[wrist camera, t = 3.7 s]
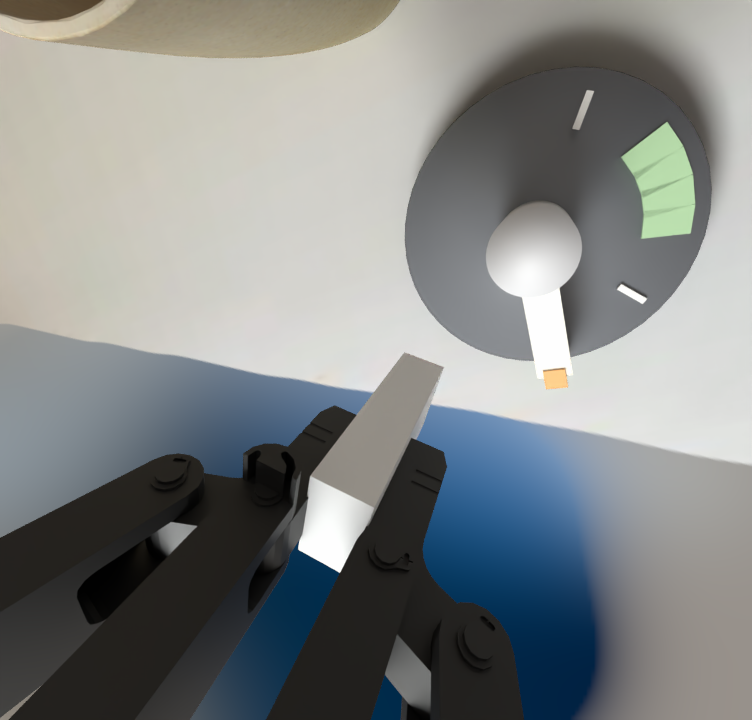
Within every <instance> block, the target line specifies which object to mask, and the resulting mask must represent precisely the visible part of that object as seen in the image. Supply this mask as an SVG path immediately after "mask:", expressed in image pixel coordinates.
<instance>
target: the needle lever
mask: <svg viewBox="0 0 752 720" xmlns="http://www.w3.org/2000/svg"><path fill="white" fill-rule="evenodd" d="M581 254H582V241H581V236H580V233H579V231H578V229H577V227H576V225H575V224H574V222H573V221H572V219H571V218H570V216H569V215H568V213H567V212H566V211H565V210H564V209H563V208H562V207H560V206H559V205H557V204H555V203H552V202H549V201H531V202H527V203H525V204H522V205H520V206H519V207H517V208H516V209H514V210H513V211H512V212H510V213H509V214H508V216H507V217H506V218H505V219H504V220H503V221H502V222H501V223H500V225H499V226H498V227H497V228H496V229H495V231H494V232H493V234H492V236H491V238H490V240H489V242H488V246H487V250H486V264H487V268H488V272H489V274H490V276H491V278H492V279H493V281H494V282H495V283H496V284H497V285H498V286H499V287H500V288H501V289H502V290H504V291H505V292H507V293H509V294H512V295H515V296H519V297H522V299H523V305H524V310H525V315H526V320H527V325H528V331H529V336H530V341H531V346H532V351H533V357H534V362H535V367H536V372H537V377H538V379H539V378H544V381H545V386H546V389H555V388H566V387H568V383H567V376H569V375H573V372H572V365H571V358H570V352H569V345H568V339H567V333H566V326H565V320H564V314H563V307H562V301H561V294H560V287H561V286H562V285H564V284H565V283H566V282H567V281H568V280H569V279H570V278H571V276H572V275H573V274H574V272H575V270H576V269H577V267H578V264H579V262H580V258H581Z"/></svg>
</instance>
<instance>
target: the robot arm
mask: <svg viewBox="0 0 752 720" xmlns="http://www.w3.org/2000/svg"><path fill="white" fill-rule="evenodd" d="M443 368H444V367H442V366H439V365H436V364H434V363H431V362H428V361H426V360H423V359H420V358H418V357H415V356H413V355H410V354H407V353H404V354H403V355H402V356H401V358H400V359H399V360H398V362H397V363H396V364H395V366H394V367H393V368H392V370H391V371H390V372H389V373H388V375H387V376H386V377H385V379H384V380H383V381H382V383H381V384H380V385H379V387H378V388H377V389H376V390H375V392H374V393H373V394H372V396H371V397H370V398H369V400H368V401H367V402H366V404H365V405H364V406H363V407H362V409H361V410H360V412H359V413H358V414H357V415H355V414H353V413H351V412H348V411H346V410H344V409H342V408H339V407H337V406H333V407H330V408H328V409H326V410H324V411H321V412H320V413H319V414H318V415H317V416H316V417H315V418H314V419H313V420H312V422H311V423H310V425H308V426H307V427H306V428H305V429H304V430H303V432H302V433H301V434H299V435H298V437H297V438H296V439H295V440H294V441H293V442H292V443H291V444H290V445H289V446H288V447H286V446H283V445H279V444H262V445H259V446H255V447H252V448H251V449H250V450H248V451H246V452H245V453H244V454H243V478H229V477H223V476H217V475H211V474H206V473H204V468H203V466H202V464H201V463H200V461H199V460H197V459H196V458H194V457H192V456H190V455H185V454H172V455H165V456H162V457H160V458H157V459H154V460H152V461H150V462H148V463H146V464H144V465H142V466H140V467H138V468H136V469H135V470H133V471H130V472H129V473H127V474H125V475H123V476H121V477H119V478H117V479H115V480H113V481H111V482H109V483H107V484H105V485H103V486H101V487H99V488H97V489H96V490H93V491H91V492H89V493H87V494H85V495H84V496H81V497H79V498H77V499H76V500H74V501H72V502H70V503H68V504H66V505H64V506H62V507H60V508H58V509H56V510H54V511H52V512H50V513H48V514H46V515H44V516H42V517H40V518H38V519H36V520H34V521H32V522H30V523H29V524H26V525H25V526H23V527H21V528H19V529H17V530H15V531H13V532H11V533H9V534H7V535H5V536H3V537H1V538H0V717H2V716H3V715H4V714H5V713H7V712H8V711H9V710H11V709H12V708H13V707H14V706H16V705H17V704H18V703H19V702H21V701H22V700H23V699H25V698H26V697H27V696H28V695H30V694H31V693H32V692H33V691H35V690H36V689H37V688H39V687H40V686H41V685H42V684H43V685H42V686H41V687H40V688H39V689H38V690H37V691H36V692H35V693H34V694H33V695H32V696H31V697H30V698H29V699H28V701H26V702H25V703H24V704H23V705H22V707H20V708H19V710H18V711H17V712H16V713H15V714H14V715H13V716H12V717H11V718H10V719H9V720H190V718H191V717H192V715H193V713H194V712H195V711H196V709H197V707H198V706H199V704H200V703H201V701H202V700H203V698H204V697H205V695H206V693H207V692H208V690H209V689H210V687H211V686H212V684H213V682H214V681H215V679H216V678H217V676H218V675H219V673H220V672H221V670H222V668H223V667H224V665H225V664H226V662H227V661H228V659H229V657H230V656H231V654H232V653H233V651H234V650H235V648H236V646H237V645H238V643H239V642H240V640H241V639H242V637H243V635H244V634H245V632H246V631H247V629H248V628H249V626H250V625H251V623H252V622H253V620H254V618H255V617H256V615H257V614H258V612H259V611H260V609H261V607H262V606H263V604H264V603H265V601H266V600H267V598H268V596H269V595H270V593H271V592H272V590H273V589H274V587H275V586H276V584H277V582H278V581H279V579H280V577H281V576H282V575H283V573H284V571H285V569H286V566H287V564H288V561H289V554H290V553H291V551H292V550H293V548H294V547H295V545H296V544H297V542H298V541H299V539H300V542H299V548H298V549H299V550H300V551H302V552H304V553H305V554H307V555H309V556H311V557H313V558H315V559H316V560H318V561H320V562H322V563H324V564H326V565H327V566H329V567H331V568H333V569H334V570H336V571H338V572H340V574H339V576H338V578H337V580H336V582H335V584H334V586H333V588H332V590H331V592H330V594H329V596H328V598H327V600H326V602H325V604H324V606H323V608H322V610H321V612H320V614H319V616H318V618H317V620H316V622H315V624H314V626H313V628H312V630H311V631H310V633H309V635H308V638H307V640H306V641H305V644H304V645H303V647H302V649H301V651H300V653H299V655H298V657H297V660H296V661H295V663H294V665H293V667H292V670H291V672H290V673H289V675H288V677H287V679H286V681H285V683H284V686H283V687H282V689H281V691H280V693H279V695H278V697H277V699H276V701H275V704H274V705H273V707H272V709H271V711H270V713H269V715H268V717H267V719H266V720H371V717H372V713H373V710H374V707H375V703H376V701H377V697H378V694H379V691H380V688H381V685H382V681H383V678H384V675H386V677H387V678H388V679H389V680H390V682H391V683H392V684H393V685H394V686H395V687H396V689H397V690H398V691H399V692H400V694H401V695H402V709H401V710H402V711H401V720H524V717H523V710H522V705H521V697H520V691H519V684H518V678H517V671H516V665H515V658H514V653H513V649H512V646H511V643H510V640H509V636H508V635H507V633H506V632H505V630H504V628H503V627H502V625H501V624H500V622H499V621H498V620H497V619H496V618H495V617H494V616H493V615H492V614H491V613H490V612H489V611H488V610H487V609H485V608H483V607H480V606H478V605H476V604H474V603H462V602H460V603H458V604H457V603H456V602H455V601H454V600H453V599H452V598H451V597H450V596H449V595H448V594H446V592H445V591H444V590H443V589H442V588H441V587H439V585H438V584H437V583H436V582H435V581H434V579H433V578H432V577H431V575H430V573H429V572H428V570H427V568H426V565H425V562H424V559H423V550H422V549H423V543H424V538H425V535H426V532H427V529H428V525H429V522H430V519H431V516H432V513H433V510H434V506H435V503H436V500H437V497H438V493H439V490H440V487H441V484H442V481H443V478H444V474H445V471H446V468H447V465H446V461H445V456H444V452H443V451H440V450H438V449H436V448H434V447H431V446H429V445H426V444H424V443H422V442H420V441H417V440H416V439H417V437H418V435H419V432H420V430H421V428H422V426H423V424H424V421H425V418H426V415H427V412H428V410H429V407H430V404H431V401H432V399H433V396H434V393H435V390H436V387H437V385H438V382H439V379H440V376H441V374H442V371H443Z"/></svg>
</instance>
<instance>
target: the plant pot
mask: <svg viewBox="0 0 752 720" xmlns="http://www.w3.org/2000/svg"><path fill="white" fill-rule="evenodd" d="M399 1H400V0H0V30H2V31H4V32H6V33H9V34H12V35H15V36H19V37H23V38H28V39H33V40H40V41H48V42H56V43H65V44H73V45H81V46H90V47H98V48H106V49H115V50H125V51H134V52H144V53H154V54H163V55H173V56H187V57H205V58H261V57H272V56H283V55H293V54H300V53H306V52H311V51H316V50H320V49H325V48H328V47H332V46H336V45H339V44H342V43H344V42H347V41H349V40H352V39H355V38H357V37H359V36H361V35H363V34H365V33H367V32H369V31H371V30H373V29H374V28H376V27H377V26H378V25H379V24H381V23H382V22H383V21H384V20H385V19H386V18H387V17H388V16H389V14H390V13H391V12H392V11H393V10H394V8H395V7H396V5H397V4H398V2H399Z"/></svg>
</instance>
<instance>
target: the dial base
mask: <svg viewBox="0 0 752 720" xmlns="http://www.w3.org/2000/svg"><path fill="white" fill-rule="evenodd" d="M711 191H712V189H711V179H710V169H709V164H708V161H707V157H706V154H705V150H704V147H703V144H702V142H701V140H700V138H699V136H698V134H697V132H696V130H695V128H694V126H693V125H692V123H691V122H690V121H689V119H688V118H687V117H686V115H685V114H684V113H683V111H682V110H681V109H680V108H679V107H678V106H677V105H676V104H675V103H674V102H673V101H672V100H671V99H669V98H668V97H667V96H666V95H665V94H664V93H663V92H661V91H659V90H658V89H656V88H655V87H653V86H651V85H650V84H648V83H646V82H645V81H643V80H640V79H638V78H635V77H632V76H630V75H627V74H625V73H622V72H617V71H612V70H607V69H602V68H591V67H570V68H561V69H552V70H548V71H544V72H540V73H536V74H532V75H528V76H526V77H523V78H521V79H518V80H516V81H513V82H511V83H508V84H506V85H505V86H503V87H501V88H499V89H497V90H496V91H494V92H492V93H490V94H488V95H487V96H485V97H484V98H483V99H481V100H480V101H478V102H477V103H476V104H474V105H473V106H472V107H470V108H469V109H468V110H467V111H466V112H464V113H463V114H462V115H461V116H460V117H459V118H458V119H457V120H456V121H455V122H454V123H453V124H452V125H451V126H450V127H449V128H448V129H447V131H446V132H445V133H444V134H443V135H442V136H441V138H440V139H439V140H438V142H437V143H436V145H435V146H434V148H433V149H432V150H431V152H430V153H429V155H428V157H427V158H426V160H425V162H424V164H423V166H422V168H421V170H420V172H419V174H418V177H417V179H416V182H415V184H414V187H413V189H412V193H411V197H410V200H409V204H408V209H407V216H406V223H405V247H406V257H407V262H408V266H409V271H410V274H411V277H412V280H413V282H414V285H415V288H416V290H417V292H418V294H419V296H420V298H421V300H422V301H423V303H424V304H425V306H426V307H427V309H428V310H429V312H430V313H431V314H432V315H433V316H434V317H435V319H436V320H437V321H438V322H439V323H440V324H441V325H442V326H443V327H444V328H445V329H447V330H448V331H449V332H450V333H451V334H453V335H454V336H456V337H457V338H458V339H460V340H461V341H463V342H465V343H467V344H468V345H470V346H472V347H474V348H476V349H478V350H481V351H484V352H486V353H489V354H492V355H496V356H499V357H503V358H508V359H515V360H523V361H534V357H533V351H532V346H531V341H530V336H529V331H528V325H527V320H526V315H525V310H524V305H523V299H522V297H519V296H515V295H512V294H509V293H507V292H505V291H504V290H502V289H501V288H500V287H499V286H498V285H497V284H496V283H495V282H494V281H493V279H492V278H491V276H490V274H489V272H488V268H487V264H486V250H487V246H488V242H489V240H490V238H491V236H492V234H493V232H494V231H495V229H496V228H497V227H498V226H499V225H500V223H501V222H502V221H503V220H504V219H505V218H506V217H507V216H508V214H509V213H510V212H512V211H513V210H514V209H516V208H517V207H519V206H520V205H522V204H525V203H527V202H531V201H549V202H552V203H555V204H557V205H559V206H560V207H562V208H563V209H564V210H565V211H566V212H567V213H568V215H569V216H570V218H571V219H572V221H573V222H574V224H575V225H576V227H577V229H578V231H579V233H580V236H581V241H582V254H581V258H580V262H579V264H578V267H577V269H576V270H575V272H574V274H573V275H572V276H571V278H570V279H569V280H568V281H567V282H566V283H565V284H564V285H562V286H561V287H560V294H561V301H562V307H563V314H564V320H565V326H566V333H567V339H568V345H569V352H570V357H573V356H577V355H580V354H584V353H587V352H591V351H593V350H596V349H598V348H600V347H603V346H605V345H608V344H610V343H612V342H613V341H615V340H617V339H619V338H621V337H623V336H625V335H626V334H628V333H629V332H631V331H632V330H634V329H635V328H637V327H638V326H639V325H641V324H642V323H644V322H645V321H646V320H647V319H648V318H649V317H651V316H652V315H653V314H654V313H655V312H656V311H657V310H659V309H660V308H661V306H662V305H663V304H664V303H665V302H666V301H667V300H668V299H669V298H670V297H671V296H672V294H673V293H674V292H675V291H676V289H677V288H678V286H679V285H680V284H681V282H682V281H683V279H684V278H685V277H686V275H687V273H688V272H689V270H690V268H691V266H692V264H693V262H694V261H695V259H696V257H697V255H698V252H699V250H700V247H701V244H702V242H703V239H704V236H705V233H706V229H707V224H708V220H709V215H710V207H711Z"/></svg>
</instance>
